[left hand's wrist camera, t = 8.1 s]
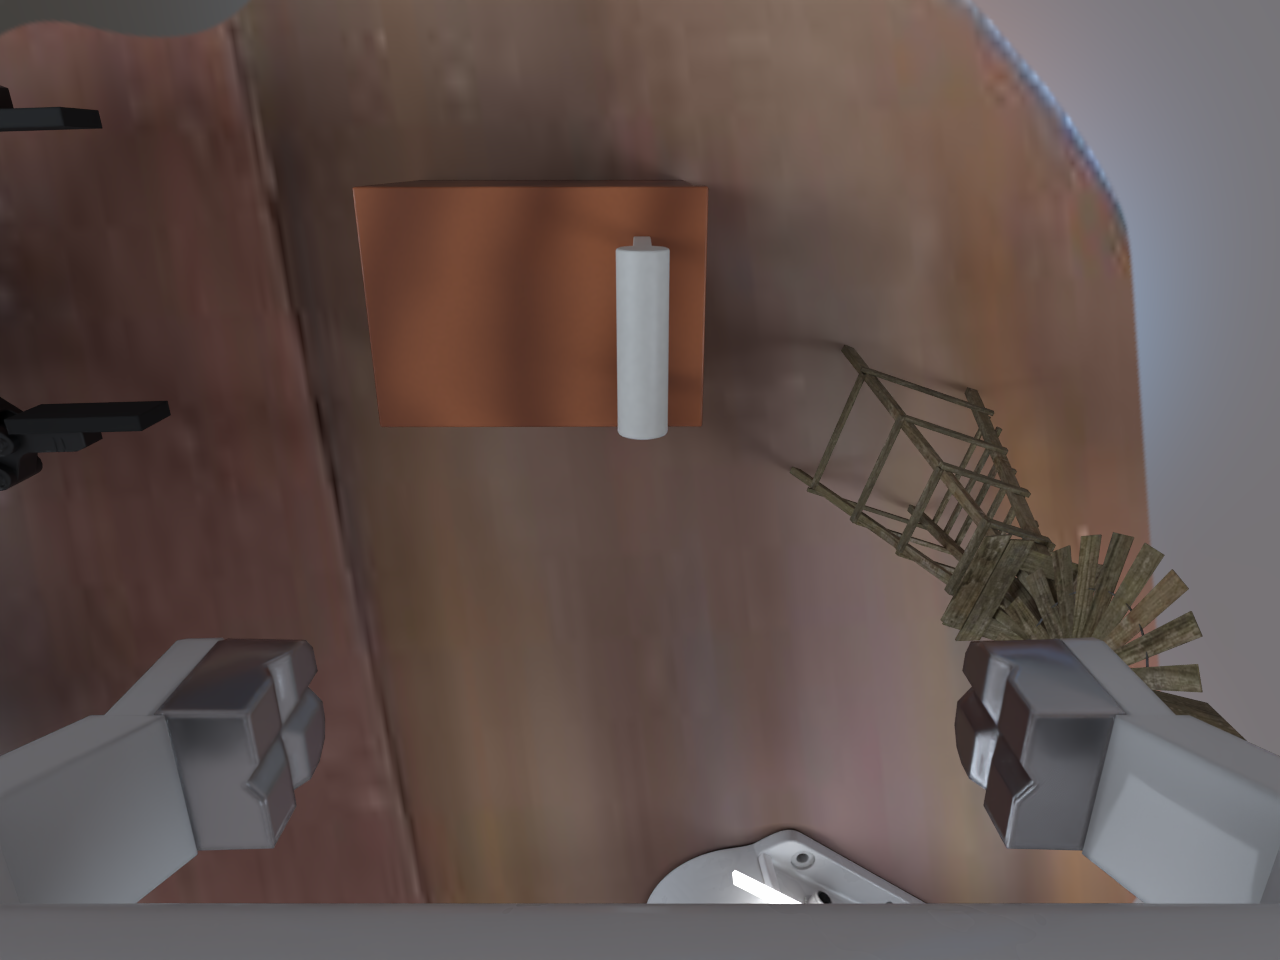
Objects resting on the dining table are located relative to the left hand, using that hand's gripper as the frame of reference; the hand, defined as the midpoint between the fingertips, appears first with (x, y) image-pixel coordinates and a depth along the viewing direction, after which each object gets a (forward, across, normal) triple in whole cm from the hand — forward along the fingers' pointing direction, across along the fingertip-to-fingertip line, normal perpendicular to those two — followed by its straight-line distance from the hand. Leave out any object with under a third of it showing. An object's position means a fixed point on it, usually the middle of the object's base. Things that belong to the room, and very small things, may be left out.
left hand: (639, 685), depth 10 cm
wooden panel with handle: (+28, +4, 0) cm, 29 cm away
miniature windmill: (+38, -14, +9) cm, 42 cm away
